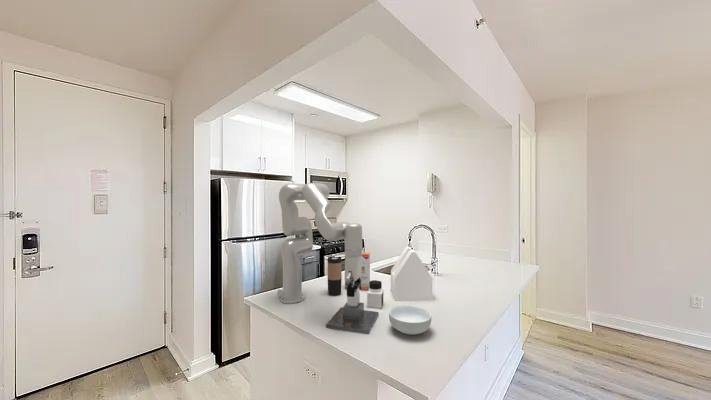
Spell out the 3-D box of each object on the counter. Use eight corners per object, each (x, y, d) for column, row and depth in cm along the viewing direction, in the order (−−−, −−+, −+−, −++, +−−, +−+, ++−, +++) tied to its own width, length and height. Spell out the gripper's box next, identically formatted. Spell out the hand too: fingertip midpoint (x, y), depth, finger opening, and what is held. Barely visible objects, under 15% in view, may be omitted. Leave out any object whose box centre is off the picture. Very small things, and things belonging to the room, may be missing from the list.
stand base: (325, 327, 114) (325, 310, 114) (341, 310, 132) (340, 295, 132) (368, 334, 109) (368, 316, 109) (378, 315, 126) (378, 299, 126)
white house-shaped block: (424, 290, 160) (424, 246, 159) (432, 300, 144) (432, 252, 144) (390, 290, 159) (390, 246, 159) (395, 300, 144) (395, 252, 143)
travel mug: (330, 297, 149) (330, 259, 148) (325, 292, 156) (325, 256, 155) (343, 294, 152) (343, 258, 152) (338, 290, 159) (338, 255, 159)
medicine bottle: (381, 308, 134) (381, 283, 134) (367, 307, 135) (367, 282, 135) (383, 303, 141) (383, 279, 141) (369, 301, 142) (369, 278, 142)
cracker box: (344, 289, 161) (344, 253, 161) (346, 286, 167) (346, 251, 166) (368, 290, 159) (368, 254, 158) (370, 287, 165) (370, 251, 164)
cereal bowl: (423, 345, 101) (423, 326, 101) (381, 333, 110) (381, 315, 109) (436, 326, 115) (436, 309, 115) (399, 317, 124) (399, 301, 124)
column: (345, 318, 119) (345, 285, 118) (349, 313, 124) (349, 281, 123) (357, 320, 117) (357, 286, 117) (361, 314, 122) (361, 282, 122)
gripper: (351, 248, 129) (352, 285, 129) (338, 256, 113) (338, 298, 113) (367, 249, 127) (367, 287, 127) (356, 257, 110) (356, 300, 111)
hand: (354, 292), depth 120 cm, fingers open, 9 cm apart
